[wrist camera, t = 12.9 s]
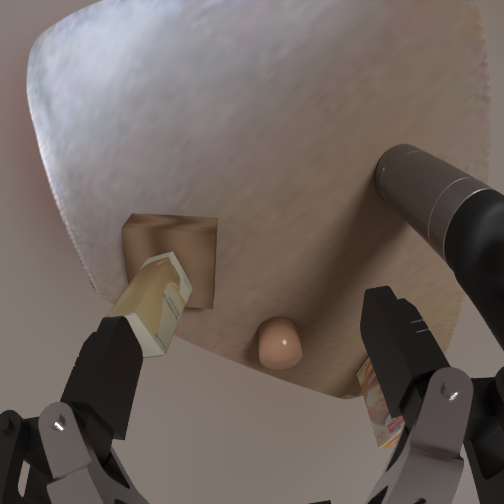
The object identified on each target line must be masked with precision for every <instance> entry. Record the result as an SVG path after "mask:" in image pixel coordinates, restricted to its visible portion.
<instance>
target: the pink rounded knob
mask: <svg viewBox="0 0 504 504" xmlns="http://www.w3.org/2000/svg"><path fill="white" fill-rule="evenodd" d="M258 346H259V360H260V363H261V364H262V365H263V366H264V367H266V368H268V369H272V370H284V369H288V368H291V367H293V366H295V365H296V364H298V363H299V362H300V361H301V359H302V356H303V352H302V348H301V343H300V338H299V333H298V328H297V325H296V323H295V322H294V321H293V320H291V319H289V318H286V317H274V318H270V319H268V320H266V321H264V322H263V323H262V324H261V325H260V326H259V328H258Z"/></svg>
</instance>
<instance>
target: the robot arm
mask: <svg viewBox="0 0 504 504" xmlns="http://www.w3.org/2000/svg"><path fill="white" fill-rule="evenodd" d="M375 183H376V187H377V191H378V192H379V194H380V196H381V197H382V198H383V199H384V200H385V201H386V202H387V203H388V204H389V205H390V206H391V207H392V208H393V209H394V210H395V211H396V212H397V213H398V214H399V215H400V216H401V217H402V218H403V219H404V220H405V221H406V222H407V223H408V224H409V225H410V226H411V227H412V228H413V229H414V230H415V231H416V232H417V233H418V234H419V235H420V236H421V237H422V238H423V239H424V240H425V241H426V242H427V243H428V244H429V245H430V246H431V247H432V248H433V249H434V250H435V251H436V252H437V253H438V255H439V256H440V257H441V258H442V259H443V260H444V261H445V262H446V263H447V264H448V266H449V267H450V268H451V269H452V270H453V272H454V274H455V277H456V279H457V281H458V283H459V284H460V286H461V287H462V288H463V290H464V291H465V292H466V294H467V295H468V296H469V298H470V299H471V301H472V302H473V304H474V305H475V306H476V308H477V309H478V311H479V313H480V314H481V316H482V317H483V319H484V320H485V322H486V324H487V325H488V327H489V328H490V330H491V332H492V333H493V335H494V336H495V338H496V340H497V341H498V343H499V344H500V346H501V347H502V349H503V350H504V195H502V194H501V193H499V192H497V191H496V190H494V189H492V188H491V187H489V186H488V185H486V184H484V183H483V182H481V181H479V180H477V179H476V178H474V177H472V176H471V175H469V174H467V173H465V172H463V171H462V170H460V169H458V168H456V167H454V166H452V165H451V164H449V163H447V162H445V161H443V160H441V159H439V158H437V157H435V156H433V155H431V154H429V153H427V152H425V151H423V150H421V149H419V148H417V147H415V146H412V145H408V144H402V145H398V146H395V147H393V148H391V149H390V150H388V151H387V152H386V153H385V154H384V155H383V156H382V158H381V159H380V161H379V163H378V166H377V169H376V174H375ZM360 330H361V336H362V340H363V343H364V345H365V348H366V350H367V353H368V355H369V358H370V361H371V363H372V366H373V368H374V371H375V374H376V376H377V379H378V382H379V385H380V387H381V390H382V393H383V396H384V399H385V401H386V404H387V407H388V410H389V413H390V416H391V419H392V418H396V417H399V416H403V419H404V422H405V424H404V426H403V428H402V431H401V433H400V436H399V438H398V441H397V443H396V445H395V448H394V450H393V452H392V454H391V457H390V459H389V461H388V463H387V465H386V468H385V470H384V471H383V474H382V475H381V477H380V479H379V480H378V482H377V483H376V485H375V487H374V488H373V490H372V491H371V493H370V495H369V497H368V498H367V500H366V502H365V504H451V503H452V501H453V498H454V495H455V493H456V489H457V487H458V484H459V481H460V478H461V475H462V471H463V467H464V459H463V458H461V457H460V450H461V447H462V443H463V444H464V447H465V450H466V453H467V457H468V460H469V463H470V467H471V470H472V474H473V478H474V481H475V485H476V489H477V493H478V497H479V501H480V504H504V367H502V368H501V369H500V370H499V371H498V373H497V374H496V376H495V377H489V378H469V376H468V375H467V374H466V373H465V372H463V371H462V370H460V369H457V368H453V367H451V366H450V365H449V363H448V361H447V359H446V358H445V356H444V354H443V352H442V351H441V349H440V347H439V345H438V343H437V342H436V340H435V338H434V337H433V335H432V333H431V332H430V330H428V326H427V325H426V323H425V322H424V321H423V318H422V317H421V315H420V313H419V312H418V310H417V309H416V307H415V306H413V305H412V304H411V303H410V302H408V301H407V300H406V299H404V298H402V299H397V298H396V296H395V295H394V293H393V291H392V290H391V288H390V287H389V286H382V287H376V288H370V289H366V291H365V294H364V301H363V308H362V315H361V322H360ZM142 362H143V352H142V348H141V345H140V343H139V341H138V339H137V337H136V336H135V334H134V332H133V330H132V328H131V326H130V324H129V322H128V320H127V318H126V317H124V316H116V317H104V318H103V319H102V321H101V323H100V326H99V327H98V330H97V332H93V333H92V334H91V335H90V336H89V338H88V339H87V340H86V341H85V342H84V344H83V346H82V348H81V351H80V353H79V357H77V360H76V362H75V366H74V367H73V370H72V372H71V375H70V377H69V379H68V382H67V384H66V387H65V389H64V392H63V395H62V397H61V400H60V402H55V403H52V404H50V405H49V406H47V407H46V408H45V409H44V410H43V411H42V413H41V415H40V417H34V418H28V419H23V418H22V417H21V416H20V415H19V414H18V413H17V412H15V411H13V410H7V411H4V412H3V413H2V414H0V504H149V503H148V502H147V500H146V499H145V498H144V497H143V496H141V494H140V493H139V492H138V491H137V490H136V488H135V487H134V485H133V483H132V481H131V480H130V478H129V476H128V475H127V473H126V471H125V469H124V467H123V466H122V464H121V462H120V460H119V458H118V457H117V455H116V453H115V451H114V449H113V448H112V447H111V444H112V439H118V440H125V436H126V431H127V426H128V421H129V417H130V412H131V408H132V403H133V399H134V395H135V391H136V386H137V382H138V378H139V374H140V370H141V367H142ZM23 460H24V461H25V462H27V463H28V464H30V470H29V474H28V479H27V484H26V489H25V494H24V496H23V497H21V495H20V494H19V491H18V482H19V477H20V473H21V468H22V464H23ZM310 504H331V502H330V500H328V501H323V502H316V503H310Z"/></svg>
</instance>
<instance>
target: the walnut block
mask: <svg viewBox="0 0 504 504" xmlns="http://www.w3.org/2000/svg"><path fill="white" fill-rule="evenodd" d="M217 223H218V218H209V217H192V216H175V215H155V214H134V213H132V214H131V216H130V217H129V218H128V220H127V221H126V223H125V224H124V225H123V227H122V228H121V229H122V238H123V246H124V254H125V261H126V268H127V275H128V281H129V284H130V282H131V281H132V279H133V278H134V277H135V275H136V274H137V272H138V271H139V270H140V268H141V267H142V265H143V264H144V263H145V261H146V260H147V259H148V258H151V257H154V256H157V255H161V254H164V253H168V252H171V251H173V252H174V254H175V256H176V258H177V260H178V261H179V263H180V265H181V267H182V269H183V271H184V272H185V274H186V276H187V278H188V280H189V282H190V284H191V286H192V288H193V289H192V292H191V294H190V296H189V299H188V301H187V304H186V306H185V307H192V308H206V309H213V301H214V290H215V265H216V243H217Z"/></svg>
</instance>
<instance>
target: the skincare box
mask: <svg viewBox="0 0 504 504" xmlns="http://www.w3.org/2000/svg"><path fill="white" fill-rule="evenodd" d="M192 289H193V288H192V286H191V284H190V282H189V280H188V278H187V276H186V274H185V272H184V271H183V269H182V267H181V265H180V263H179V261H178V260H177V258H176V256H175V254H174V252H173V251H171V252H168V253H164V254H161V255H157V256H154V257H151V258H148V259H147V260H146V261H145V263H144V264H143V265H142V267H141V268H140V270H139V271H138V272H137V274H136V275H135V277H134V278H133V279H132V281H131V282H130V284H129V285H128V286H127V288H126V289H125V291H124V292H123V294H122V295H121V296H120V298H119V299H118V301H117V302H116V304H115V305H114V307H113V308H112V310H111V311H110V313H109V314H108V315H107V317H116V316H124V317H126V318H127V320H128V322H129V324H130V326H131V328H132V330H133V332H134V334H135V336H136V337H137V339H138V341H139V343H140V345H141V348H142V352H143V358H150V357H159V356H165V354H166V351H167V349H168V347H169V344H170V342H171V339H172V337H173V334H174V332H175V330H176V327H177V325H178V322H179V320H180V318H181V315H182V313H183V310H184V308H185V306H186V304H187V301H188V299H189V296H190V294H191V292H192Z"/></svg>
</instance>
